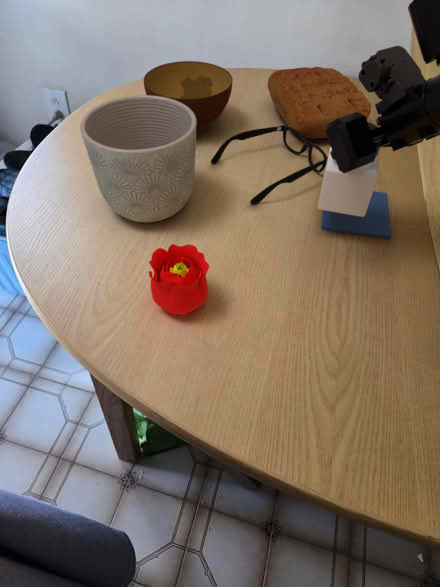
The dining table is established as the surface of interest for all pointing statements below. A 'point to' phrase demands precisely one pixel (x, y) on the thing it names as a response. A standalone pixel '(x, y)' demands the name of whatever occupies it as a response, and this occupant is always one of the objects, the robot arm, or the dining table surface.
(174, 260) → the flower
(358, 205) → the medicine bottle
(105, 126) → the planter
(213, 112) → the bowl
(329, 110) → the clay tablet
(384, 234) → the towel
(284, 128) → the glasses
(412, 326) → the dining table surface
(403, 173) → the dining table surface
